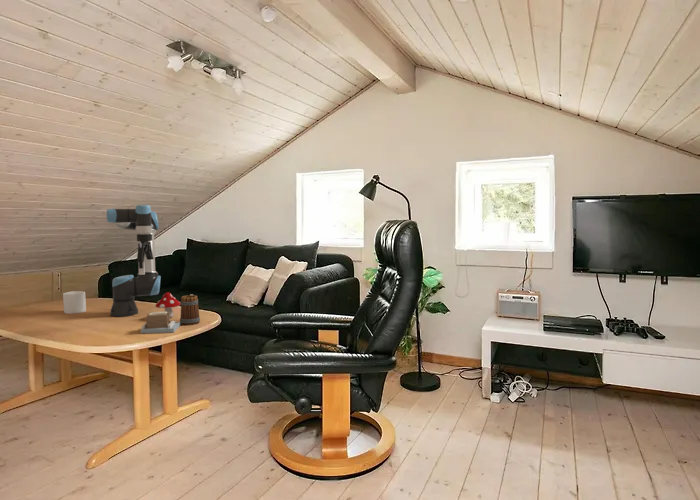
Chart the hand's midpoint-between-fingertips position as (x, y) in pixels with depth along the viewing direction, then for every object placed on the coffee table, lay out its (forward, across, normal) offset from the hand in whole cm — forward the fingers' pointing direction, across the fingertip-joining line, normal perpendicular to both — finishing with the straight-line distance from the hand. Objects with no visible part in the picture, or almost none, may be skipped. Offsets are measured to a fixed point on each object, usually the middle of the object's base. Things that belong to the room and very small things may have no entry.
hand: (145, 272), depth 248 cm
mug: (+29, -4, +22) cm, 37 cm away
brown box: (+27, +12, +9) cm, 31 cm away
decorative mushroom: (+29, -17, +7) cm, 34 cm away
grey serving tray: (+29, +11, +10) cm, 32 cm away
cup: (+29, -42, -55) cm, 75 cm away
